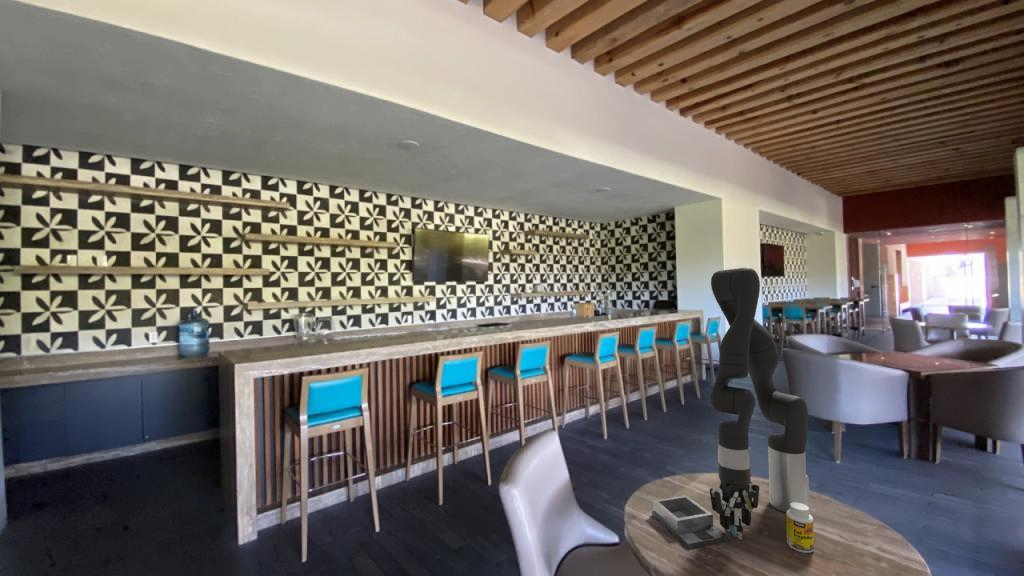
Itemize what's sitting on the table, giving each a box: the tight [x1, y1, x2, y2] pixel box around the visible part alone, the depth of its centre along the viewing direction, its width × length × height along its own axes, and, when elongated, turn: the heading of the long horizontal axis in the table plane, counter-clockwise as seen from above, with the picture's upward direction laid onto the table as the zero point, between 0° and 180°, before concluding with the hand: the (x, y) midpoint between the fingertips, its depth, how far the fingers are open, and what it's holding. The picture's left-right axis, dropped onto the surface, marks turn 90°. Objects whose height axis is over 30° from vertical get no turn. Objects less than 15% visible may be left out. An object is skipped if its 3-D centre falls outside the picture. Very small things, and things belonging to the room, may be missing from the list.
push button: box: [724, 498, 745, 540], centre depth 108 cm, size 7×5×10 cm
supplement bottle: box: [785, 502, 815, 554], centre depth 102 cm, size 6×6×10 cm
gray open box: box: [651, 495, 730, 550], centre depth 112 cm, size 12×16×4 cm
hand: (735, 525), depth 108 cm, fingers open, 6 cm apart
